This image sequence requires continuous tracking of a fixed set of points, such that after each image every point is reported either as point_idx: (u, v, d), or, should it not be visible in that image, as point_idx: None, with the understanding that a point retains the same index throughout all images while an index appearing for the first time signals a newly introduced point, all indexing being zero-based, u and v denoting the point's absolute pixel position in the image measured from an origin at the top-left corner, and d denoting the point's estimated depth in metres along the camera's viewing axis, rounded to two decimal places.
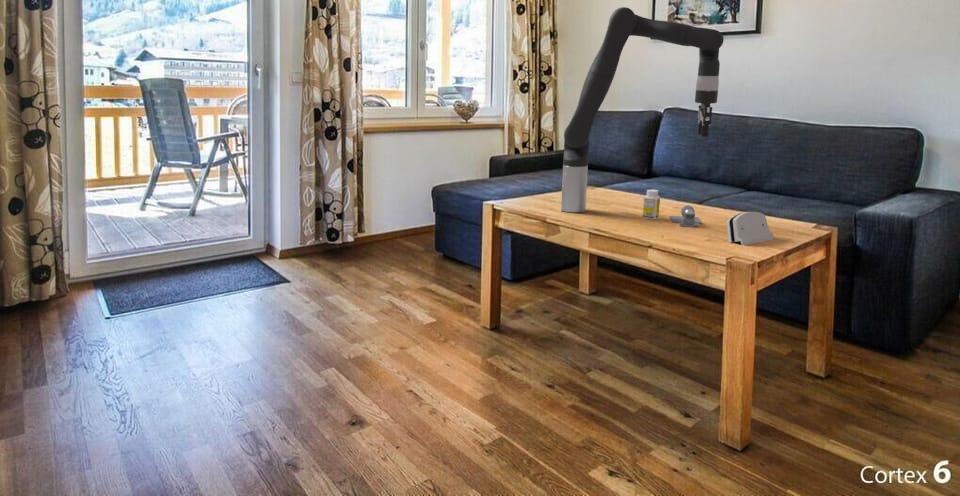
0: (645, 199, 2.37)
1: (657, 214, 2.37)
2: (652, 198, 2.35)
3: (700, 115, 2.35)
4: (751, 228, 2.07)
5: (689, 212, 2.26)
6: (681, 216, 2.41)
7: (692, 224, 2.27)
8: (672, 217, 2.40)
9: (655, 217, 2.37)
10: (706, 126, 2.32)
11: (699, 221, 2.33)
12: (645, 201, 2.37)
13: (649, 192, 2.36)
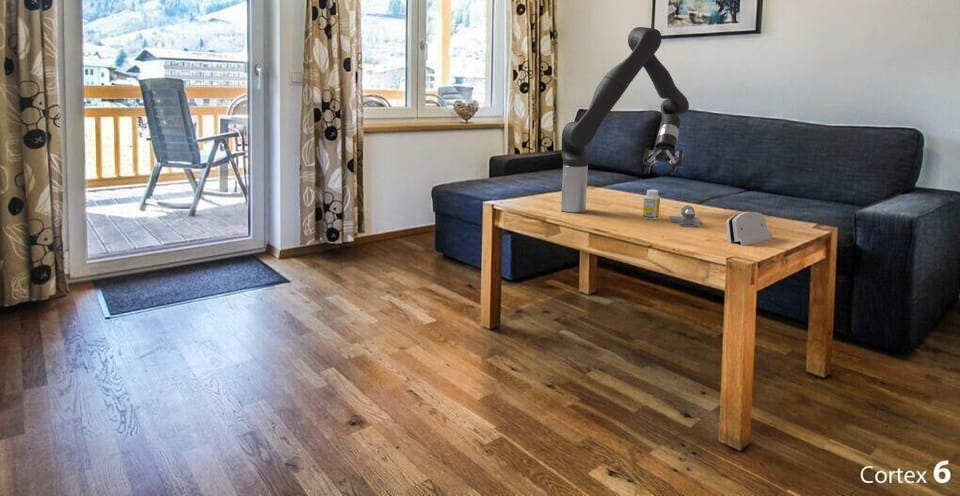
0: (645, 199, 2.37)
1: (657, 214, 2.37)
2: (652, 198, 2.35)
3: (667, 155, 2.47)
4: (750, 228, 2.07)
5: (689, 212, 2.26)
6: (681, 216, 2.41)
7: (692, 224, 2.27)
8: (672, 217, 2.40)
9: (655, 217, 2.37)
10: (676, 166, 2.46)
11: (699, 221, 2.33)
12: (645, 201, 2.37)
13: (649, 192, 2.36)
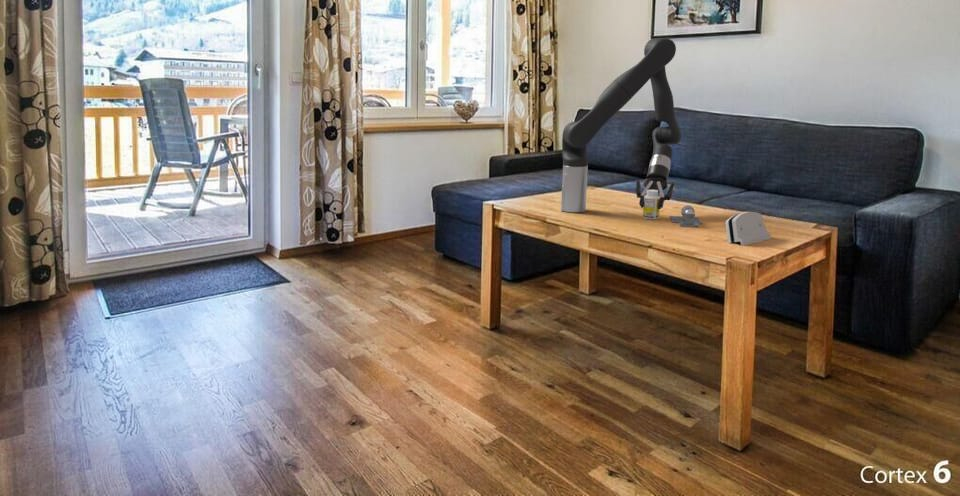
0: (645, 199, 2.37)
1: (657, 214, 2.37)
2: (652, 198, 2.35)
3: (658, 187, 2.39)
4: (749, 228, 2.07)
5: (689, 212, 2.26)
6: (681, 216, 2.41)
7: (692, 224, 2.27)
8: (672, 217, 2.40)
9: (655, 217, 2.37)
10: (664, 200, 2.37)
11: (699, 221, 2.33)
12: (645, 201, 2.37)
13: (649, 192, 2.36)
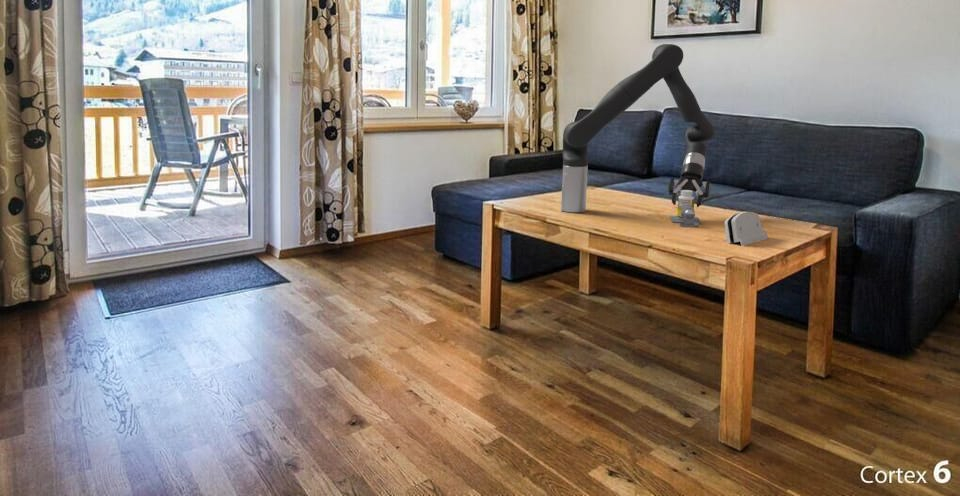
0: (680, 199, 2.34)
1: None
2: (687, 198, 2.33)
3: (694, 185, 2.35)
4: (748, 228, 2.07)
5: (689, 212, 2.26)
6: None
7: (692, 224, 2.27)
8: (672, 217, 2.40)
9: None
10: (702, 197, 2.34)
11: (699, 221, 2.33)
12: (680, 201, 2.34)
13: (684, 192, 2.33)
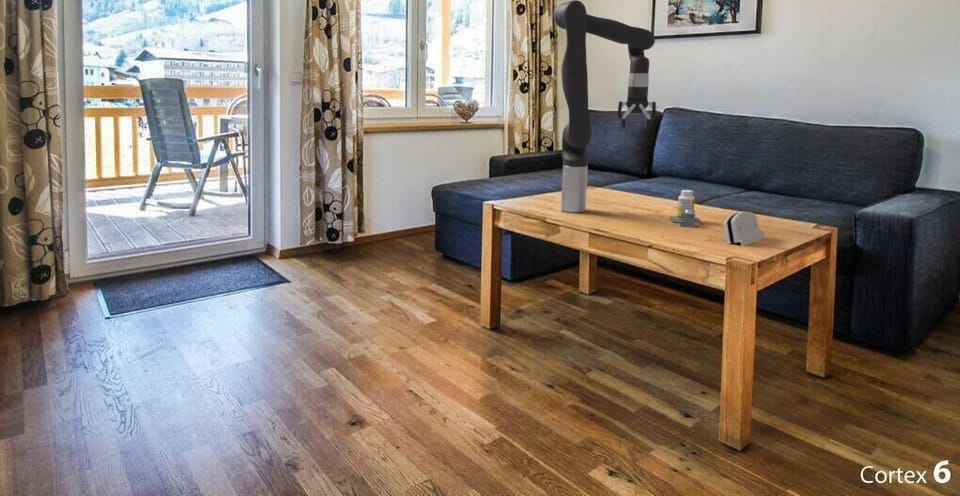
0: (680, 199, 2.34)
1: None
2: (687, 198, 2.33)
3: (641, 110, 2.51)
4: (746, 228, 2.07)
5: (689, 212, 2.26)
6: None
7: (692, 224, 2.27)
8: (672, 217, 2.40)
9: None
10: (650, 119, 2.53)
11: (699, 221, 2.33)
12: (680, 201, 2.34)
13: (684, 192, 2.33)
